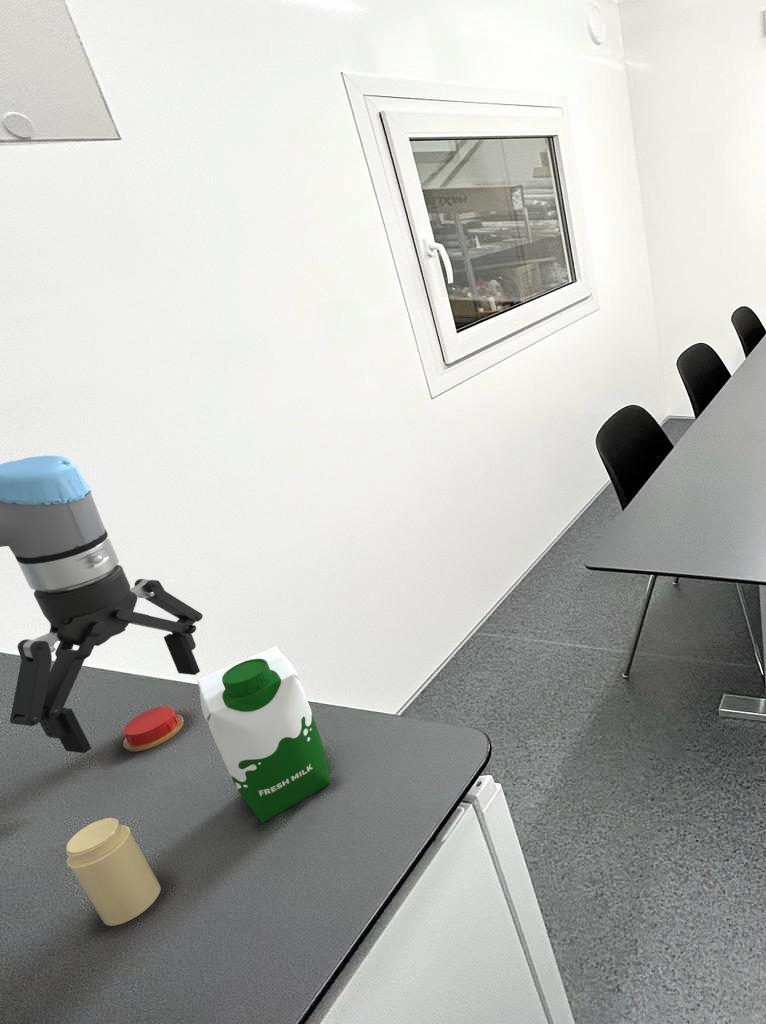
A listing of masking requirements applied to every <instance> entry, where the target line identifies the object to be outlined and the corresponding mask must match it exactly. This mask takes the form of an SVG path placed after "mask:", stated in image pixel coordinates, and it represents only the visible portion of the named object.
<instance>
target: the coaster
mask: <svg viewBox="0 0 766 1024" xmlns="http://www.w3.org/2000/svg"><path fill="white" fill-rule="evenodd" d="M176 715H177V717H178V718H177V719H178V723H177V725H176V726H175V727H174V728H173V729H172V730H171V731H170V732H169V733H168V734H166V735H164V736H163V737H161V738H159V739H157V740H155V741H153V742H150V743H147V744H142V745H133V744H130V743H128V741H127V739H126V737H125V738H124V740H123V742H122V746H123V748H124V749H125V750H126V751H128V752H133V753H135V752H142V751H146V750H149V749H153V748H154V747H157V746H160V745H161V744H163V743H165V742H167V741H168V740H170V739H171V738H172V737H174V736H175V735H177V734H178V733H179V731H181V729H182V728H183V726H184V723H185V720H184V718H183V716H182V715H180V714H179V713H176Z"/></svg>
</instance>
